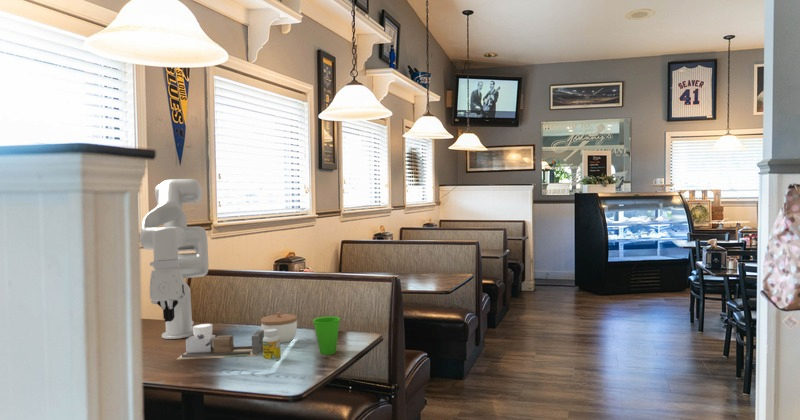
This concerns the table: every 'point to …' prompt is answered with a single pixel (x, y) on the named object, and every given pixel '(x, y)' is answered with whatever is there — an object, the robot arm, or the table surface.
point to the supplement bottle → (271, 344)
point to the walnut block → (223, 344)
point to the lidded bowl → (281, 325)
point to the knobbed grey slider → (200, 344)
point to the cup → (327, 334)
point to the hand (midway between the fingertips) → (169, 320)
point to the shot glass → (202, 329)
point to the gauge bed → (237, 352)
